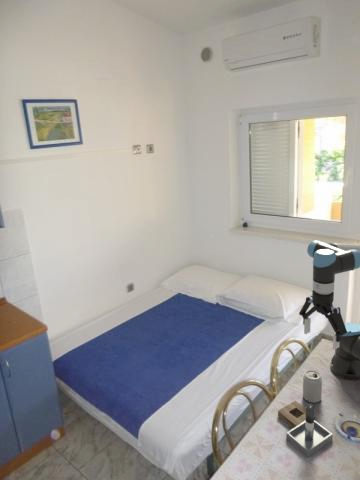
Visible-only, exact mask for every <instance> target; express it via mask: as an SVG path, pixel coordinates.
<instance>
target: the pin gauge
mask: <svg viewBox="0 0 360 480" xmlns="http://www.w3.org/2000/svg"><path fill="white" fill-rule="evenodd" d="M305 408H306V421H305V439H306V440H308V441H312V440H313V435H314V415H316V414H315V411H316V407H315V406H314V405H313V404H310V403H309V404H308V403H307V404H306V405H305Z"/></svg>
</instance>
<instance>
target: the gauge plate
mask: <svg viewBox="0 0 360 480" xmlns="http://www.w3.org/2000/svg"><path fill="white" fill-rule="evenodd" d="M294 414H297V415H298V417H295V416H294ZM277 416H278V418H280V419H282V420H283V421H284V422H285V423H286V424H287V425H289V426H290V427H291V429H293V428H295V427H296V426H298V425H299V424H301V423H302V422H304V421H305V420H306V406H304V405H303V404H301V403H300V402H298V401H297V400H293V401H292V402H291V403H289V404H287V405H285V406H283V407H281V408H280V409H278V411H277ZM314 420H315V421H316V414H314Z"/></svg>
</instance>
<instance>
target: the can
mask: <svg viewBox="0 0 360 480" xmlns="http://www.w3.org/2000/svg"><path fill="white" fill-rule="evenodd" d="M302 378H303V381H302V397H303V398H304V399H305V401H307V402H309V403H312V404H313V403H315V404H316V403H318V402H320V401H321V400H322V390H323V389H322V388H323V387H322V386H323V377H322V376H321V374H320V372H318V371H317V370H313V369H309V370H307V371H305V372H304V373H303V375H302Z"/></svg>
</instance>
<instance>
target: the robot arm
mask: <svg viewBox="0 0 360 480" xmlns="http://www.w3.org/2000/svg"><path fill="white" fill-rule="evenodd" d="M306 250H307V254H308V256H309V257H310V258H312V294H311V295H309V296H307V297H306V298H305V302H304V304H303V305H302V307H301V309H300V310H299V313H298V314H299V316H301V317H302V318H303V321H302V324H303V327H304V329H303V330H304V331H303V332H304V335H307V334H309V333H311V315H312V314H314V313H315V312H317V313H319V314H321V315H323V316H324V317H325V318H326V319H327V321H328V322H329V324H330V326H331V328H332V329H333V331H334V333H333V338H332V339H333V340H332V349H333V350H334V354H333V356H332V358H331V360H330V365H329V368H330V371H331V372H332V373H333V374H334V375H336V376H338V377H339V378H342V379H345V380H356V381H357V380H360V324H359V323H355V322H344V320H343V317H342V314H341V307H339V306H338V307H334V305H333V303H334V297H335V296H334V294H335V280H336V279H335V278H336V277H335V276H336V275H337V274H342V273H346V272H351V271H354V270H356V269H357V270H358V269H360V244H355V243H351V244H350V243H337V242H336V243H332V242H323V240H316V239H315V240H313V241H311V242H309V244H308V246H307V249H306ZM311 304H312V305H313V306H312V307H311V308H310V306H311ZM309 308H310V309H309ZM308 309H309V310H308Z"/></svg>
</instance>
